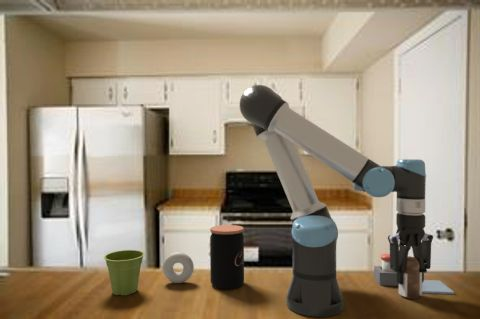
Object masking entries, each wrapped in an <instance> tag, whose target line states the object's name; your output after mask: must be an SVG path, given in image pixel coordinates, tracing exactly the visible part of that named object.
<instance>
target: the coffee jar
mask: <svg viewBox="0 0 480 319" xmlns="http://www.w3.org/2000/svg"><path fill="white" fill-rule="evenodd" d="M209 230H210V231H209V232H210V233H211V235H210V237H209V238H210V239H209V243H210V244H209V246H210V247H209V256H210V257H209V258H210V260H209V261H210V269H209V270H210V271H209V272H210V283H211V286H212V287H213V286H214V287H213V288H215V287H216V288H215V289H217V288H218V290H221V289H222V291H231V289H232V290H236V288H237V289H238V288H239V289H240V288H241V287H242V286H243V284H244V282H245V238H244V237H245V236H244V234H243V232H244V226H241V225H235V224H223V225H222V224H220V225H214V226H212V227H209Z"/></svg>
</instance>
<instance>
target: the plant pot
mask: <svg viewBox="0 0 480 319" xmlns="http://www.w3.org/2000/svg"><path fill="white" fill-rule="evenodd" d="M145 255H146V254H145V252H144V251H143V250H137V249H123V250H116V251H111V252H109V253H106V254H105V255H104V256H103V260H105V263H106V267H107V270H108V271H107V272H108V275H109V281H110V286H111V292H112V294H113V295H115V296H120V295H121V296H124V295H125V296H129V295H133V294H134V293H136V292H137V291H138V286H139V280H140V275H141V274H140V273H141V266H142V263H143V259H144V256H145ZM132 293H133V294H132Z"/></svg>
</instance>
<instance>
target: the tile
mask: <svg viewBox="0 0 480 319" xmlns="http://www.w3.org/2000/svg"><path fill="white" fill-rule="evenodd" d="M422 294H438V295H455V291H454V290H452V289H451V288H450V287H449V286H447V285H446V284H445V283H444V282H442V281H441V280H431V279H430V280H429V279H424V282H423V283H422Z"/></svg>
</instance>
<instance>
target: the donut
mask: <svg viewBox="0 0 480 319" xmlns="http://www.w3.org/2000/svg"><path fill="white" fill-rule="evenodd" d="M176 264H180V265H182V267H183V269H182V270H181V271H180V272H178V271H176V270H174V266H175V265H176ZM194 267H195V265H194V262H193V260H192V258H191V256H190V255H189V254H187V253H184V252H182V251H181V252H180V251H176V252H172V253H170V254H169V255H168V256H166V258H165V259H164V261H163V263H162V273H163V275H164V276H165V278H166V279H167V280H168V281H170V282H171V283H173V284H182V283H184V282H186V281H188V280H189V279H190V278H191V277H192V276H193V273H194V269H195V268H194Z"/></svg>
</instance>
